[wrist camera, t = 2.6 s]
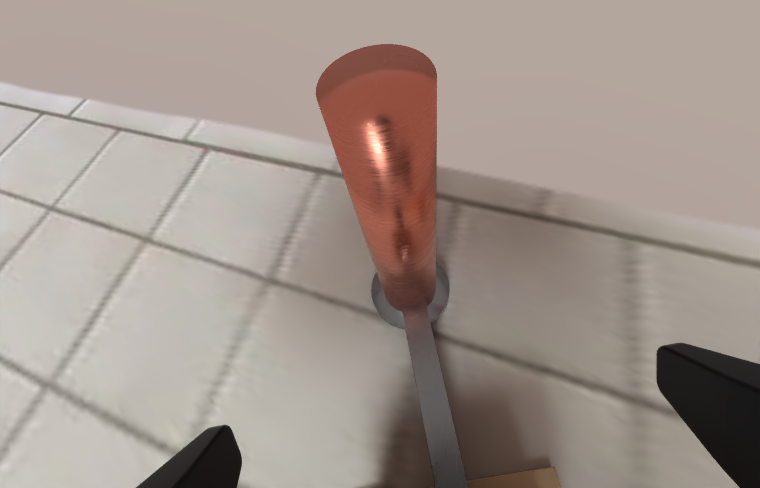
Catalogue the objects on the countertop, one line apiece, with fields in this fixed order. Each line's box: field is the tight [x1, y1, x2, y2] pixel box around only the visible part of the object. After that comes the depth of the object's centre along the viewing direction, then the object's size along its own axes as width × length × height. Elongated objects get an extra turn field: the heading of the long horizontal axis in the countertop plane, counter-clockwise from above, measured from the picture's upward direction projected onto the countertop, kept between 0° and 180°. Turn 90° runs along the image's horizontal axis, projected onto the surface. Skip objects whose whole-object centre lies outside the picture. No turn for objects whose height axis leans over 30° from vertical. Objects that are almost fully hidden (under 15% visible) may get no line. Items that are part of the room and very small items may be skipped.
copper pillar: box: [316, 44, 468, 488], centre depth 12 cm, size 19×5×15 cm, turn 9°
